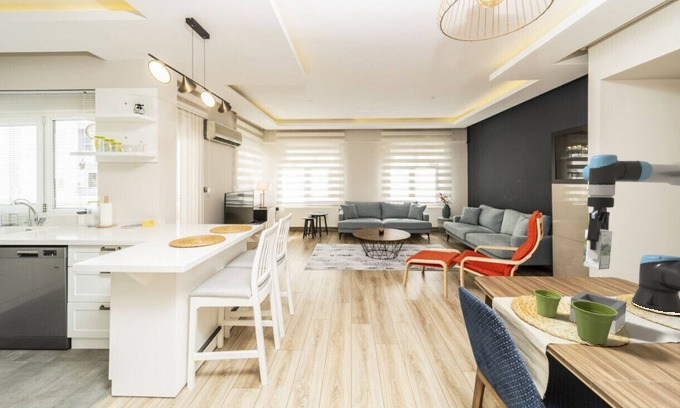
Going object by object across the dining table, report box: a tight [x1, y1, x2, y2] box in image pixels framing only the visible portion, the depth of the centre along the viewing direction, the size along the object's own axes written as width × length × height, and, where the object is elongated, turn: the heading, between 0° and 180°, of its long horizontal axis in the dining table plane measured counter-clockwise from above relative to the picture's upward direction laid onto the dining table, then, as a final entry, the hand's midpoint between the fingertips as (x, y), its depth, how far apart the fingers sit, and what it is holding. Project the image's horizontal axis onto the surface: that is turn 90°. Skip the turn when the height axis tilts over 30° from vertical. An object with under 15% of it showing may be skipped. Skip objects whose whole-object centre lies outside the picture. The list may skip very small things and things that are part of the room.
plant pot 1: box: [533, 289, 563, 318], centre depth 118 cm, size 9×9×9 cm
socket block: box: [569, 291, 627, 335], centre depth 111 cm, size 13×13×9 cm
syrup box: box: [582, 228, 613, 271], centre depth 111 cm, size 6×6×14 cm
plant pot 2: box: [570, 301, 618, 346], centre depth 99 cm, size 12×12×11 cm
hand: (596, 257), depth 112 cm, fingers closed on syrup box, 7 cm apart
